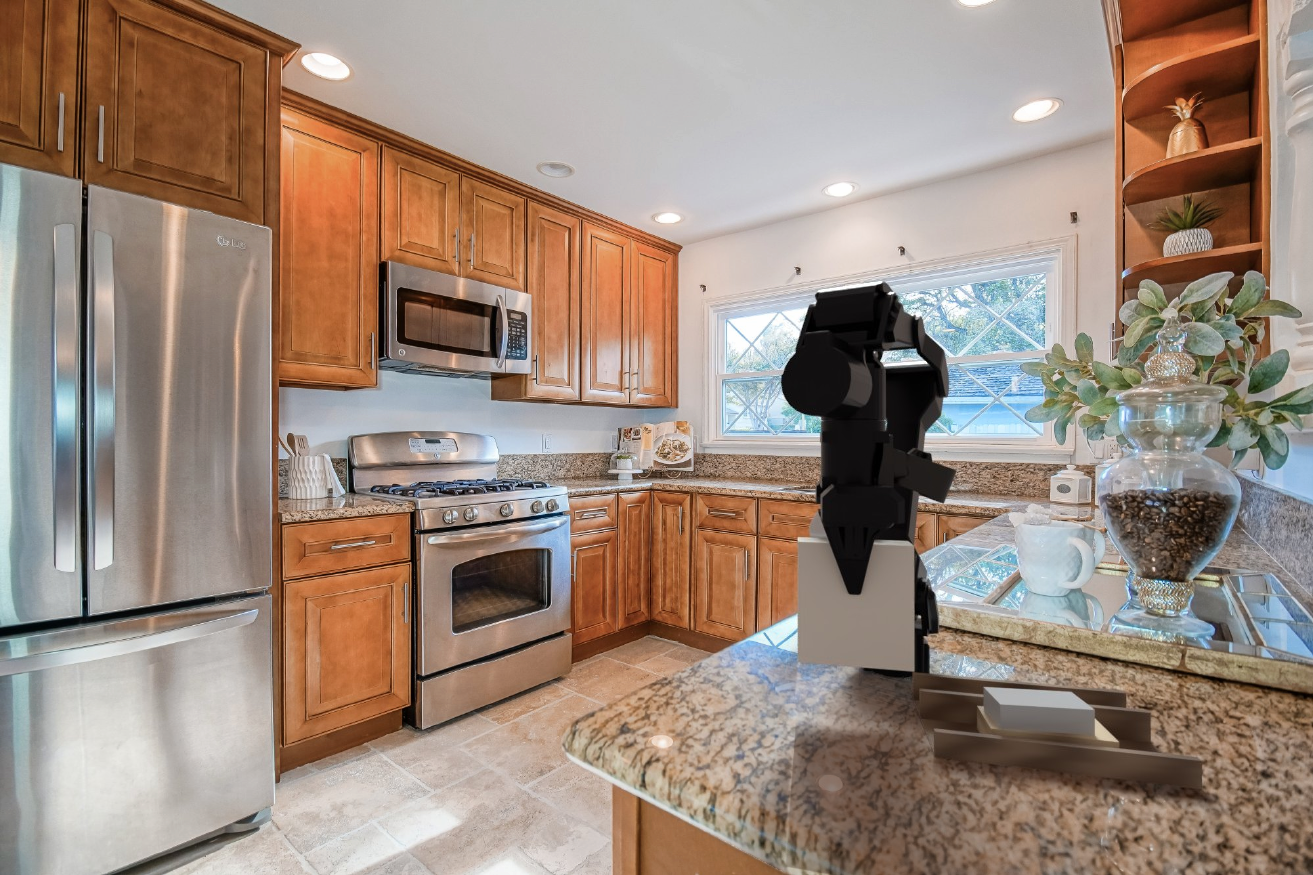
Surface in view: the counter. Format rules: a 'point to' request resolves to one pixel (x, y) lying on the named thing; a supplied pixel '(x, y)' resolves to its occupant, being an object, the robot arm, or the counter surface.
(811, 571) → the panel
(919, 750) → the counter surface
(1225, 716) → the counter surface
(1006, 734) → the oak offcut
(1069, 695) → the grey offcut
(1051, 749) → the rack
